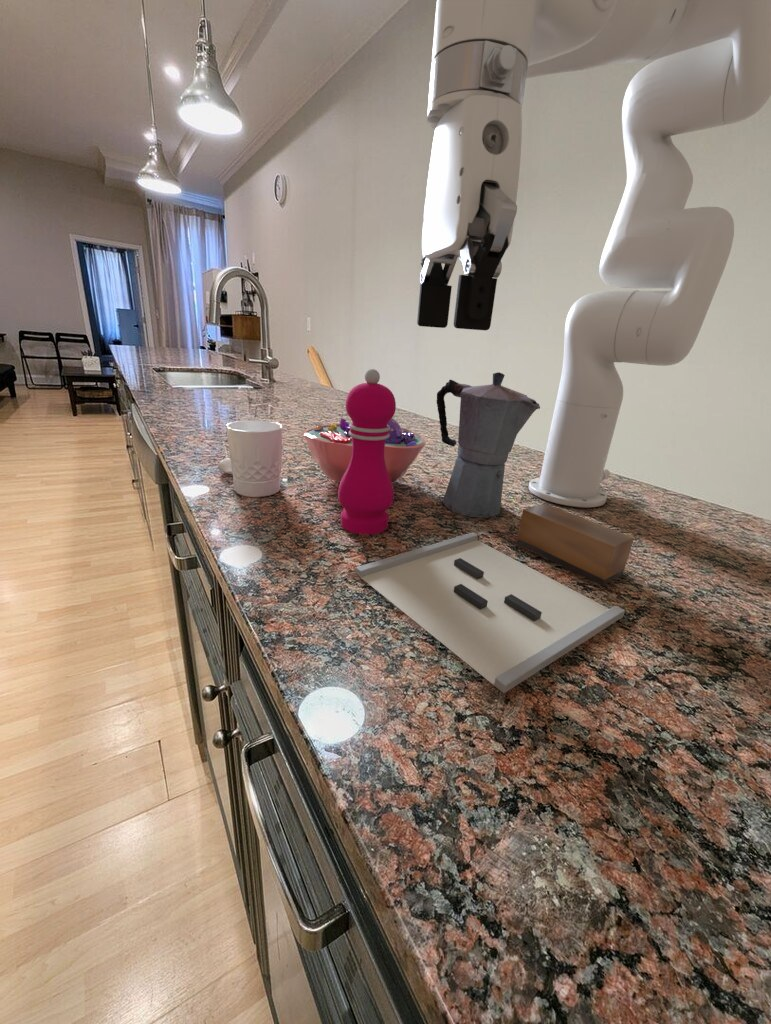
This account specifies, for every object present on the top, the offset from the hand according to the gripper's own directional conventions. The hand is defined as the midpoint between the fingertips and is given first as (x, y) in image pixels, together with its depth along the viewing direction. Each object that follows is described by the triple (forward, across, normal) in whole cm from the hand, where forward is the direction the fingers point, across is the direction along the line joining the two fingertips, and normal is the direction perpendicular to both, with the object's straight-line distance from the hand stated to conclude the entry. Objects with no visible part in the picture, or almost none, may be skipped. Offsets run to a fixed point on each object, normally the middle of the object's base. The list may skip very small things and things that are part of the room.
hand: (449, 327), depth 42 cm
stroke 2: (+25, -9, -2) cm, 26 cm away
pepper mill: (+25, +10, +5) cm, 27 cm away
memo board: (+25, -8, -3) cm, 27 cm away
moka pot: (+25, +15, -12) cm, 32 cm away
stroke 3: (+25, -12, -6) cm, 28 cm away
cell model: (+25, +27, +2) cm, 37 cm away
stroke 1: (+25, -4, -4) cm, 25 cm away
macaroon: (+25, +33, +23) cm, 47 cm away
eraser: (+25, -3, -17) cm, 31 cm away
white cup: (+25, +25, +19) cm, 40 cm away
